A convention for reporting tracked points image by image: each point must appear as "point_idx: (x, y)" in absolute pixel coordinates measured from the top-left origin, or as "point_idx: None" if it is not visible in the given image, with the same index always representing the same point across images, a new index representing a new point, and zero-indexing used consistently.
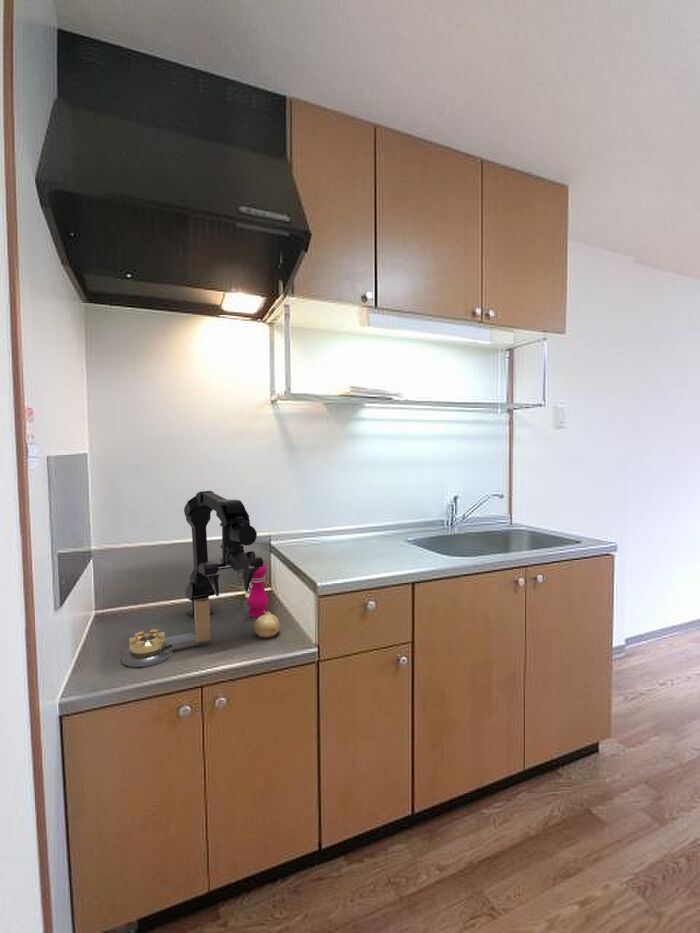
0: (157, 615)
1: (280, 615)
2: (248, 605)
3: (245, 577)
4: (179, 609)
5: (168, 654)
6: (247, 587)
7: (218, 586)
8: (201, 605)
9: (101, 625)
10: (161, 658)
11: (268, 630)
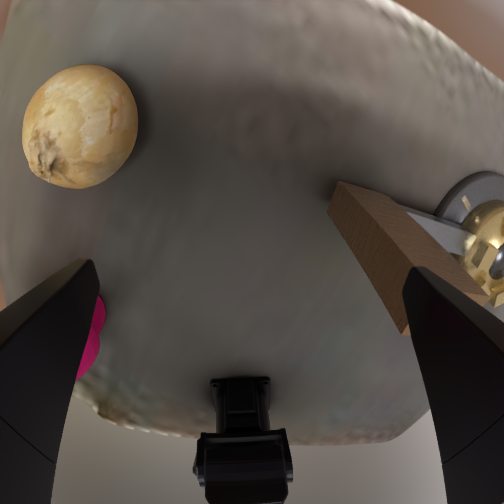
0: (330, 418)
1: (14, 251)
2: (98, 337)
3: (44, 404)
4: (275, 425)
5: (464, 187)
6: (64, 275)
7: (477, 326)
8: (452, 277)
9: (422, 409)
10: (485, 176)
11: (94, 65)
